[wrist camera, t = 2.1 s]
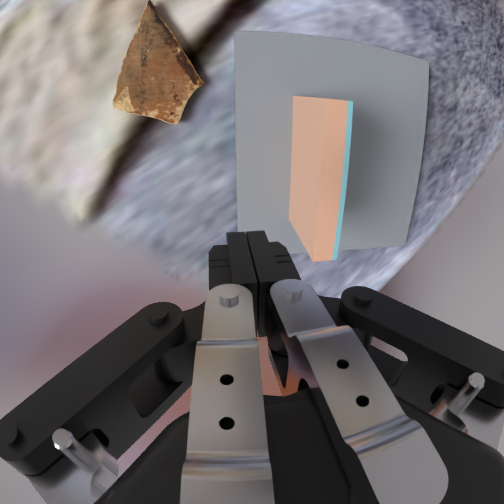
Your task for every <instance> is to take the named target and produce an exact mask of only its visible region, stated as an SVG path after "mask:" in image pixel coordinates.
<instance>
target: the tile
mask: <svg viewBox="0 0 504 504" xmlns="http://www.w3.org/2000/svg"><path fill="white" fill-rule="evenodd" d="M352 115H353V101H347V100H338V99H329V98H319V97H306V96H293V118H292V153H291V179H290V201H289V221H290V222H291V224H292V226H293V228H294V229H295V231H296V233H297V235H298V236H299V238H300V240H301V242H302V243H303V245H304V247H305V249H306V251H307V252H308V254H309V256H310V258H311V260H312V261H313V262H314V261H327V260H337V254H338V248H339V241H340V234H341V227H342V220H343V212H344V204H345V196H346V187H347V178H348V167H349V157H350V145H351V131H352Z"/></svg>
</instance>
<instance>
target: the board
mask: <svg viewBox="0 0 504 504" xmlns="http://www.w3.org/2000/svg"><path fill="white" fill-rule="evenodd" d="M234 84H235V155H236V202H237V232H244V231H245V234H246V231H260V230H264V231H265V233H266V236H267V238H268V241H269V242H277V241H278V242H280V243H281V244H282V245H284V246H285V247H286V248H287V250H288V252H289V254H295V253H308V252H307V251H306V249H305V247H304V245H303V243H302V242H301V240H300V238H299V236H298V235H297V233H296V231H295V229H294V228H293V226H292V224H291V222H290V221H289V201H290V179H291V153H292V118H293V96H306V97H319V98H329V99H338V100H347V101H353V115H352V131H351V145H350V157H349V167H348V178H347V187H346V196H345V204H344V212H343V220H342V227H341V234H340V241H339V248H338V250H351V249H365V248H379V247H393V246H405V242H406V238H407V234H408V230H409V225H410V221H411V216H412V211H413V206H414V201H415V196H416V191H417V185H418V179H419V173H420V167H421V160H422V153H423V145H424V137H425V127H426V117H427V104H428V86H429V62H428V61H425V60H422V59H419V58H416V57H413V56H409V55H406V54H402V53H399V52H395V51H391V50H387V49H383V48H379V47H375V46H371V45H366V44H361V43H356V42H351V41H346V40H340V39H334V38H327V37H320V36H312V35H303V34H293V33H280V32H260V31H235V33H234Z"/></svg>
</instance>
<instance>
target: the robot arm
mask: <svg viewBox="0 0 504 504" xmlns="http://www.w3.org/2000/svg"><path fill="white" fill-rule="evenodd" d="M226 237H227V245H216V246H213V248H212V249H211V250H210V252H209V292H208V293H207V295H206V300H205V301H204V302H203V303H202V304H201V305H199V306H197V307H195V308H193V309H189V310H186V311H182V310H181V309H180V308H179V307H178V306H177V305H175V304H172V303H169V302H157V303H153V304H150V305H148V306H146V307H145V308H143V309H141V310H140V311H139V312H138V313H136V314H135V315H134V316H132V317H131V318H130V319H128V320H127V321H126V322H124V323H123V324H122V325H121V326H119V327H118V328H116V329H115V330H114V331H113V332H111V333H110V334H109V335H107V336H106V337H105V338H104V339H102V340H101V341H99V342H98V343H97V344H95V345H94V346H93V347H92V348H90V349H89V350H88V351H87V352H85V353H84V354H83V355H81V356H80V357H79V358H77V359H76V360H75V361H73V362H72V363H71V364H70V365H68V366H67V367H66V368H65V369H63V370H62V371H61V372H59V373H58V374H57V375H56V376H54V377H53V378H52V379H51V380H49V381H48V382H47V383H45V384H44V385H43V386H42V387H40V388H39V389H38V390H37V391H35V392H34V393H33V394H32V395H30V396H29V397H28V398H27V399H25V400H24V401H23V402H22V403H21V404H19V405H18V406H17V407H15V408H14V409H13V410H12V411H11V412H9V413H8V414H7V415H6V416H4V417H3V418H2V419H1V420H0V457H1V458H2V459H4V460H5V461H6V462H8V463H9V464H10V465H12V466H13V467H14V468H16V469H17V471H18V472H20V473H21V474H22V475H24V476H25V477H27V478H28V479H29V480H30V482H31V483H32V485H33V486H34V487H35V489H36V490H37V491H38V493H39V494H40V495H41V497H42V498H43V499H44V501H45V502H46V503H47V504H504V457H503V456H502V455H501V454H500V453H499V452H498V451H497V447H498V443H499V439H500V436H501V432H502V428H503V424H504V351H502V350H500V349H498V348H496V347H494V346H492V345H490V344H488V343H485V342H484V341H482V340H480V339H477V338H475V337H473V336H471V335H469V334H467V333H465V332H463V331H461V330H459V329H457V328H454V327H452V326H450V325H448V324H446V323H444V322H442V321H440V320H437V319H435V318H433V317H431V316H429V315H427V314H425V313H422V312H420V311H418V310H416V309H414V308H411V307H409V306H407V305H405V304H403V303H401V302H399V301H397V300H394V299H392V298H390V297H388V296H386V295H384V294H381V293H379V292H377V291H375V290H373V289H370V288H367V287H362V286H354V287H350V288H347V289H346V290H344V291H343V293H342V295H341V299H340V298H331V297H323V296H319V295H317V293H316V292H315V290H314V289H313V287H312V286H311V285H310V284H308V283H306V282H304V281H302V280H301V278H300V276H299V274H298V272H297V270H296V267H295V265H294V263H293V262H292V259H291V257H290V254H289V252H288V250H287V248H286V247H285V246H284V245H282V244H281V243H280V242H278V241H277V242H269V241H268V238H267V236H266V233H265V231H264V230H260V231H246V234H245V231H244V232H228V233H226ZM257 330H258V335H259V337H264V336H267V340H268V356H269V359H270V362H271V365H272V368H273V371H274V374H275V377H276V380H277V383H278V386H279V389H280V392H281V396H270V395H263V391H262V380H261V370H260V359H259V348H258V340H257V339H256V337H257ZM373 336H374V337H376V338H378V339H380V340H382V341H384V342H386V343H388V344H390V345H392V346H394V347H395V348H397V349H399V350H402V351H403V352H404V353H405V354H406V355H407V358H408V361H405V362H404V361H400V360H399V359H397V358H395V357H393V356H391V355H389V354H387V353H385V352H383V351H381V350H379V349H377V348H376V347H374V346H372V345H371V342H372V339H373ZM191 385H192V392H191V403H190V411H189V412H188V413H186V414H184V415H182V416H180V417H179V418H177V419H175V420H174V421H173V422H171V424H169V425H168V426H167V427H166V428H165V429H164V430H163V431H162V432H161V433H160V434H159V435H158V436H157V437H156V439H155V440H154V441H153V442H152V443H151V444H150V445H149V446H148V447H147V449H146V450H145V451H144V452H143V453H142V454H141V455H140V456H139V457H138V458H137V459H136V460H135V461H134V463H133V464H132V465H131V466H130V467H129V468H128V469H127V470H126V471H125V472H124V473H123V474H122V475H121V476H120V477H119V478H118V479H117V477H118V473H119V468H118V463H117V459H118V458H119V457H120V456H121V455H122V454H123V453H125V451H127V449H129V448H130V447H131V445H133V444H134V443H135V442H136V441H137V440H138V439H139V438H140V437H141V436H142V435H143V434H144V433H145V432H146V431H147V430H148V429H149V428H150V427H151V426H152V425H153V424H154V423H155V422H156V421H157V420H158V419H159V418H160V417H161V416H162V415H163V414H164V413H165V412H166V411H167V410H168V409H169V408H170V407H171V406H172V405H173V404H174V403H175V402H176V401H177V400H178V398H180V397H181V396H182V395H183V393H184V392H185V391H186V390H187V389H188V388H189V387H190V386H191ZM116 479H117V480H116Z"/></svg>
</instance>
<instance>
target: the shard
mask: <svg viewBox="0 0 504 504" xmlns="http://www.w3.org/2000/svg"><path fill="white" fill-rule="evenodd" d="M203 84H204V82H203V81H202V79H201V78H200V77H199V75H198V74H197V73H196V70H195V69H194V67H193V65H192V64H191V62H190V61H189V59H188V57H187V56H186V55H185V53H184V52H183V50H182V48H181V47H180V45H179V43H178V41H177V39H176V38H175V37H174V35H173V33H172V31H171V30H170V28H169V27H168V26H167V24H166V23H165V22H164V21H163V20H162V18H161V17H160V16H159V14H158V12H157V11H156V7H155V6H154V5H153V3H152V2H151V1H150V0H149V1H148V4H147V5H146V8H145V10H144V12H143V14H142V16H141V20H140V24H139V26H138V28H137V30H136V33H135V35H134V37H133V40H132V41H131V43H130V45H129V48H128V50H127V54H126V57H125V59H124V61H123V64H122V67H121V72H120V74H119V76H118V81H117V84H116V94H115V96H114V99H113V109H117V110H122V111H125V112H127V113H133V114H137V115H143V116H148V117H152V118H157V119H160V120H163V121H164V122H167V123H170V124H178V123H179V121H180V118H181V115H182V112H183V110H184V108H185V106H186V103H187V101H188V99H189V98H190V97H191V95H192V94H193V92H194V91H195V90H196V89H197V88H199V87H200V86H202V85H203Z"/></svg>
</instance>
